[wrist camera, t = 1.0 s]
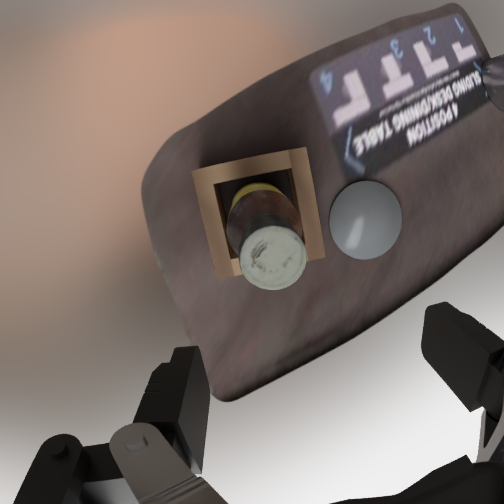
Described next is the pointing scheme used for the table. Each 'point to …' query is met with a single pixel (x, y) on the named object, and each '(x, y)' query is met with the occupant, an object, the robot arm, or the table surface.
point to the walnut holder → (288, 159)
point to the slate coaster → (365, 219)
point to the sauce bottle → (266, 236)
